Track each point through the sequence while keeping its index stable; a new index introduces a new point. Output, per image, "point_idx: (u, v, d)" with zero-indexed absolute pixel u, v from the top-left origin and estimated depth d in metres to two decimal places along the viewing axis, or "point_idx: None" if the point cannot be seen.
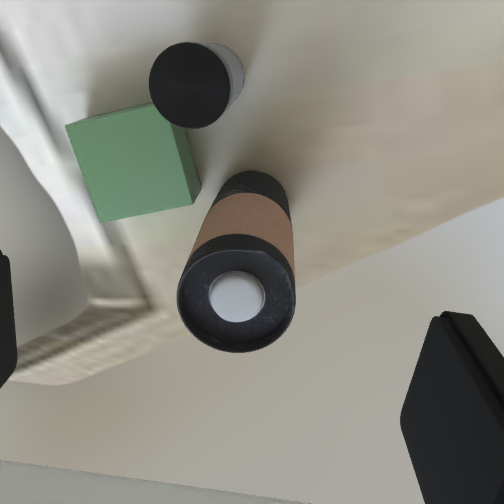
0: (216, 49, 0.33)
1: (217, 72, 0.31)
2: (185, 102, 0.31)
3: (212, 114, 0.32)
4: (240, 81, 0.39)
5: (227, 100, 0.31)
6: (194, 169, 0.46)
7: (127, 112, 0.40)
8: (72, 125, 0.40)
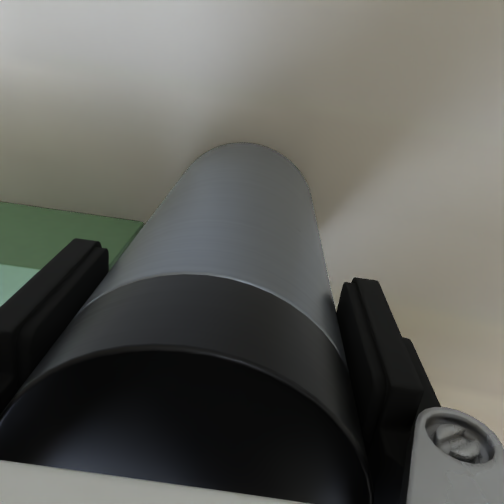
0: (321, 300, 0.09)
1: None
2: None
3: None
4: None
5: None
6: None
7: None
8: None
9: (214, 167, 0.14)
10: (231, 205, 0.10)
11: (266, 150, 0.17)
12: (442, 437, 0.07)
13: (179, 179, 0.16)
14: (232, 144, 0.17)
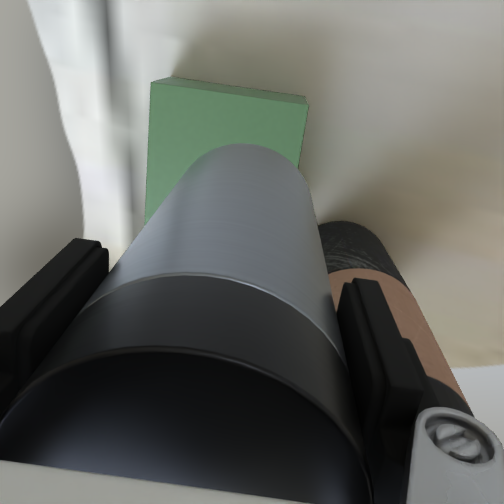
0: (321, 301, 0.09)
1: None
2: None
3: None
4: None
5: None
6: None
7: (250, 98, 0.27)
8: (162, 86, 0.27)
9: (214, 168, 0.14)
10: (231, 206, 0.10)
11: (266, 151, 0.17)
12: (442, 436, 0.07)
13: (179, 180, 0.16)
14: (232, 145, 0.17)
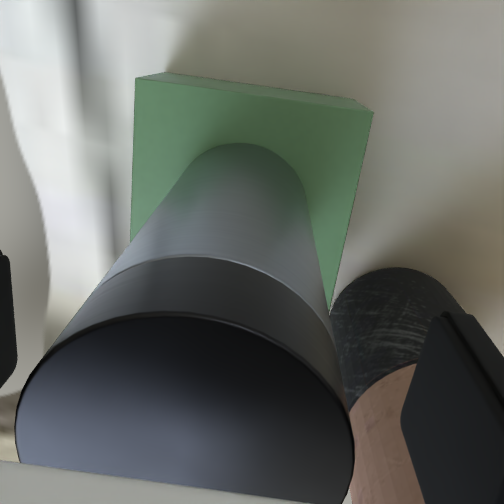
0: (311, 283, 0.10)
1: (315, 456, 0.07)
2: None
3: None
4: None
5: None
6: None
7: (285, 102, 0.18)
8: (153, 83, 0.18)
9: (213, 165, 0.15)
10: (229, 199, 0.11)
11: (262, 150, 0.18)
12: None
13: (180, 177, 0.17)
14: (230, 144, 0.18)
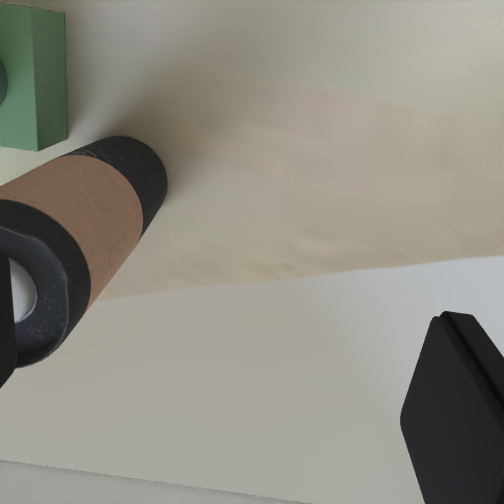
0: None
1: None
2: None
3: None
4: None
5: None
6: (63, 111, 0.36)
7: None
8: None
9: None
10: None
11: None
12: None
13: None
14: None
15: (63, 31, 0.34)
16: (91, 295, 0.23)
